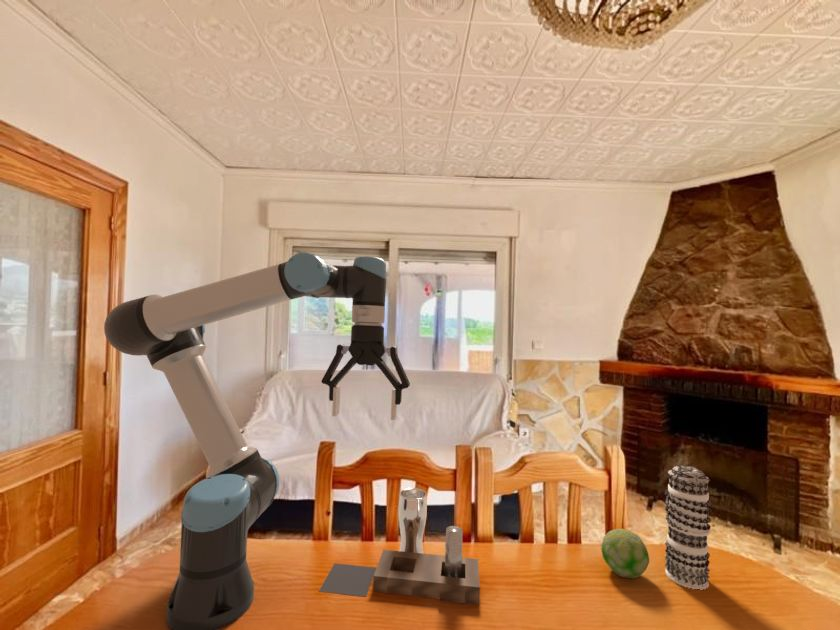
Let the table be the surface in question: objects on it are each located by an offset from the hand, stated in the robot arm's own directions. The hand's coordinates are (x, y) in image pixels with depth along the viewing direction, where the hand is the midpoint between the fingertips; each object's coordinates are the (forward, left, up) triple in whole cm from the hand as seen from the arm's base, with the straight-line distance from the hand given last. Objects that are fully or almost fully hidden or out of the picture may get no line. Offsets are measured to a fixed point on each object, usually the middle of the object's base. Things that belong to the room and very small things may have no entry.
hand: (364, 417), depth 92 cm
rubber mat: (-1, -4, -35) cm, 35 cm away
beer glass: (+11, +8, -35) cm, 37 cm away
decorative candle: (+75, +10, -35) cm, 83 cm away
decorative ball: (+61, +9, -35) cm, 71 cm away
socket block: (+16, -2, -35) cm, 38 cm away
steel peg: (+21, -2, -35) cm, 41 cm away
